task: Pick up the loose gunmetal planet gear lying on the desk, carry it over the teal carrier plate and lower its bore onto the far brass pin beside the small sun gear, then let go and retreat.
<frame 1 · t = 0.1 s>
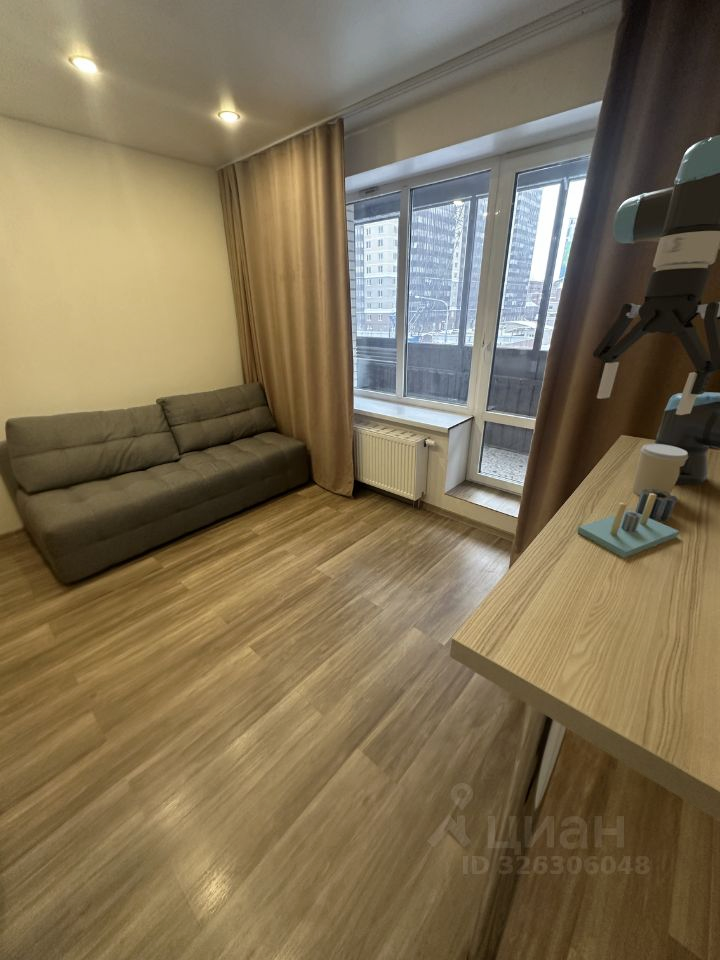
hand: (639, 405, 67), 28 cm above the table, fingers open, 13 cm apart
planet gear: (652, 514, 87), on the table
carrier: (626, 534, 79), on the table
coffee cup: (649, 493, 97), on the table
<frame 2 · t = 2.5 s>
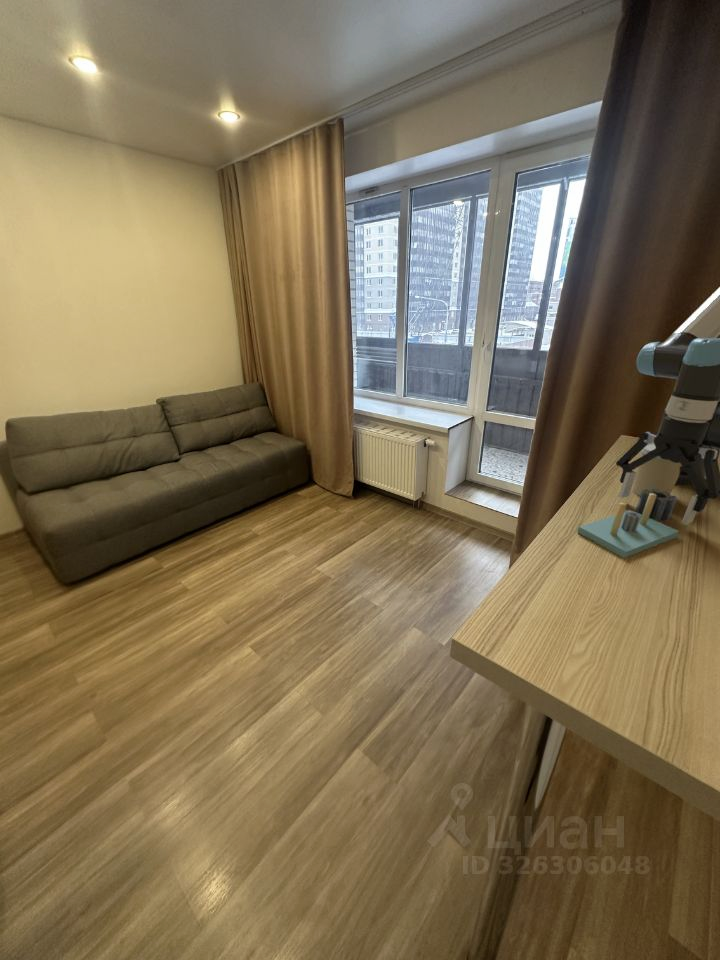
hand: (653, 508, 86), 2 cm above the table, fingers open, 13 cm apart
nothing on the table moved.
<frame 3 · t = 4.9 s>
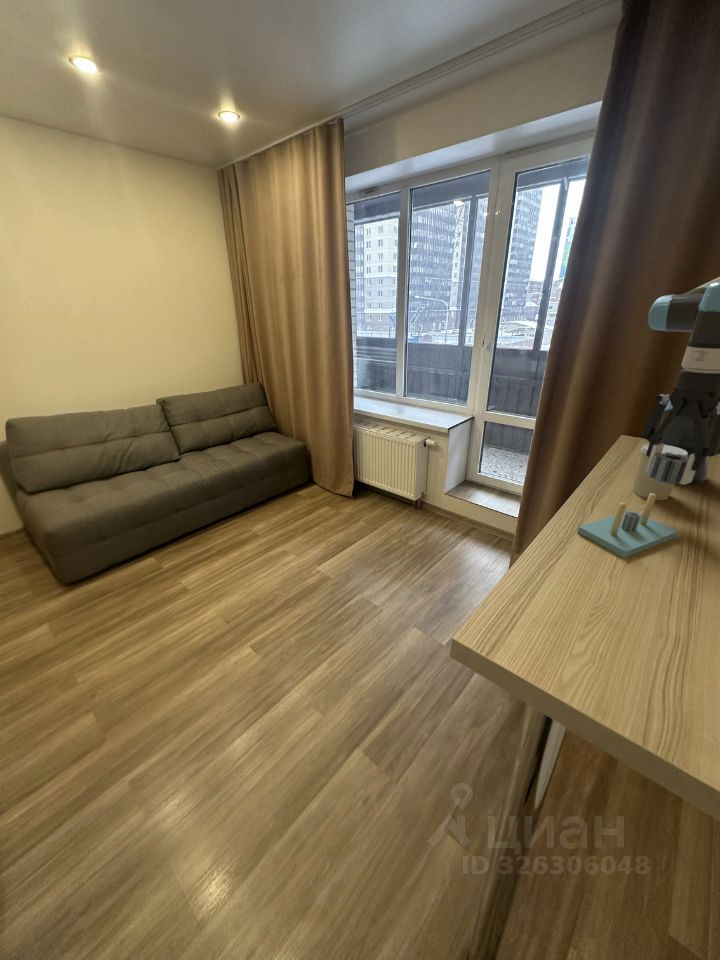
hand: (667, 476, 83), 9 cm above the table, fingers closed on planet gear, 6 cm apart
planet gear: (665, 478, 83), point 9 cm above the table, touching gripper
everything else where it was.
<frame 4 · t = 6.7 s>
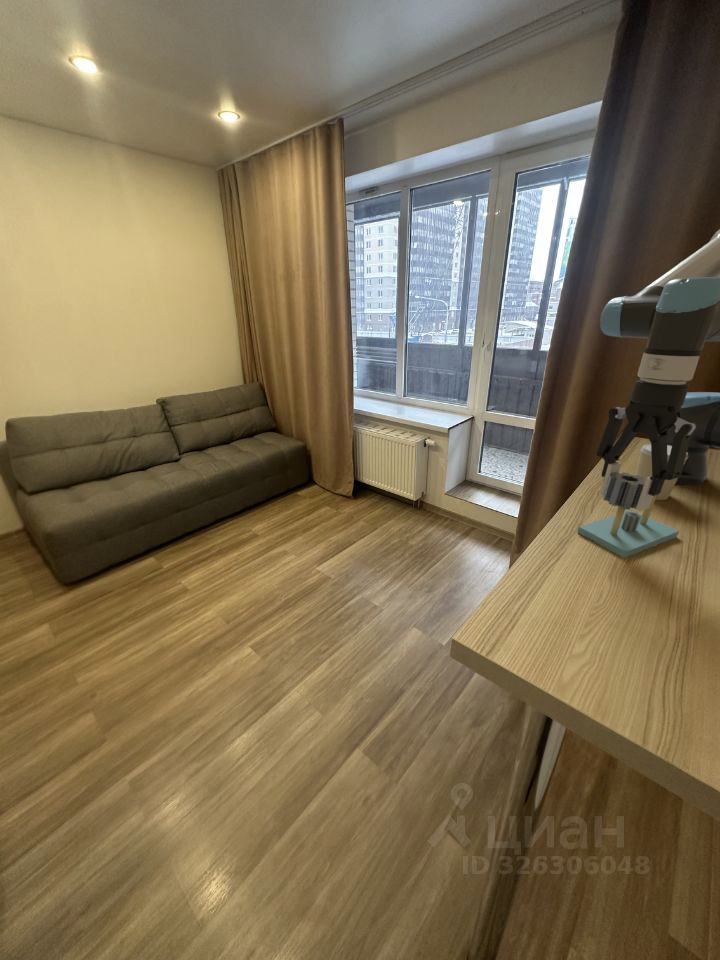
hand: (623, 500, 73), 9 cm above the table, fingers closed on planet gear, 6 cm apart
planet gear: (621, 501, 73), point 9 cm above the table, touching gripper
everything else where it was.
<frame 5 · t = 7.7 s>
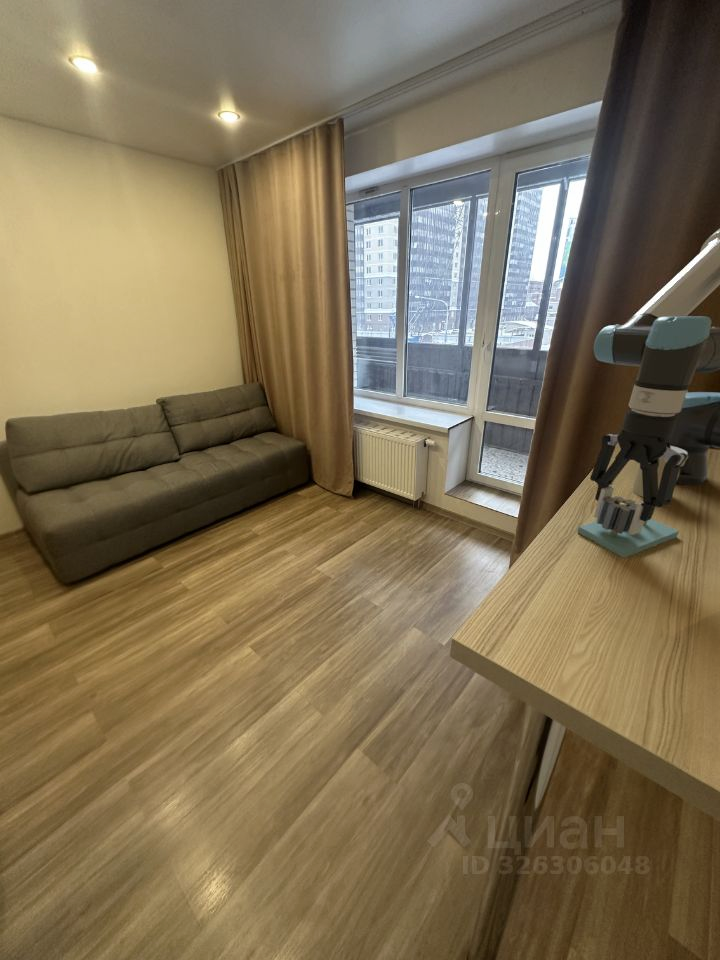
hand: (616, 523, 75), 4 cm above the table, fingers closed on planet gear, 6 cm apart
planet gear: (614, 525, 75), point 4 cm above the table, touching gripper
everything else where it was.
when the fingers open (3 cm above the table, at t = 8.6 s): planet gear drops 1 cm, resting on carrier.
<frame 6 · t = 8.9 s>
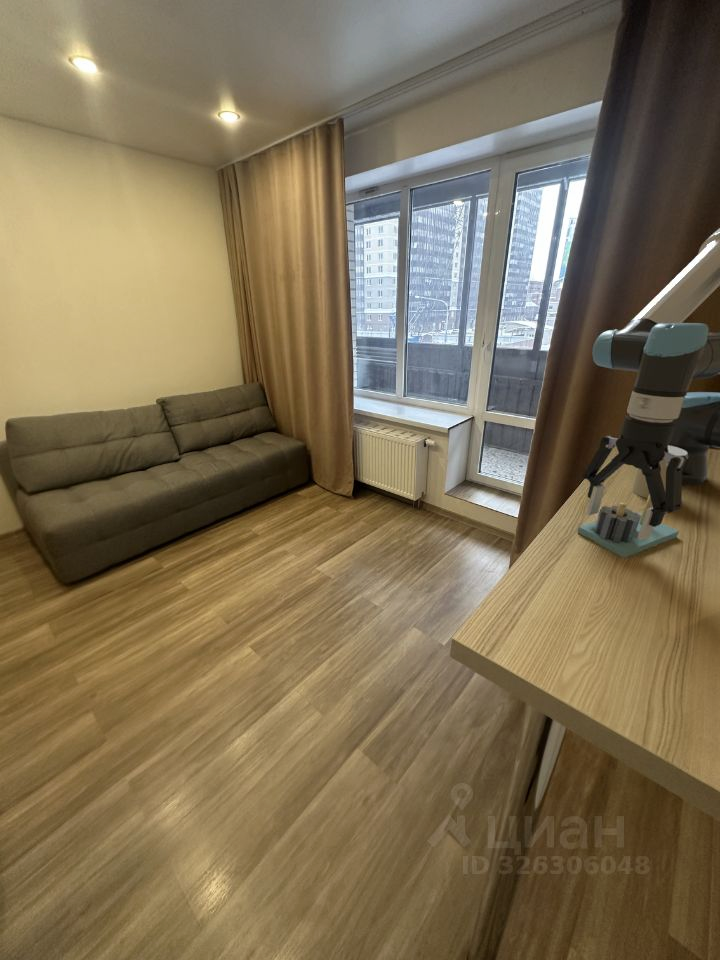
hand: (616, 525, 76), 4 cm above the table, fingers open, 10 cm apart
planet gear: (612, 534, 76), point 1 cm above the table, touching carrier
everything else where it was.
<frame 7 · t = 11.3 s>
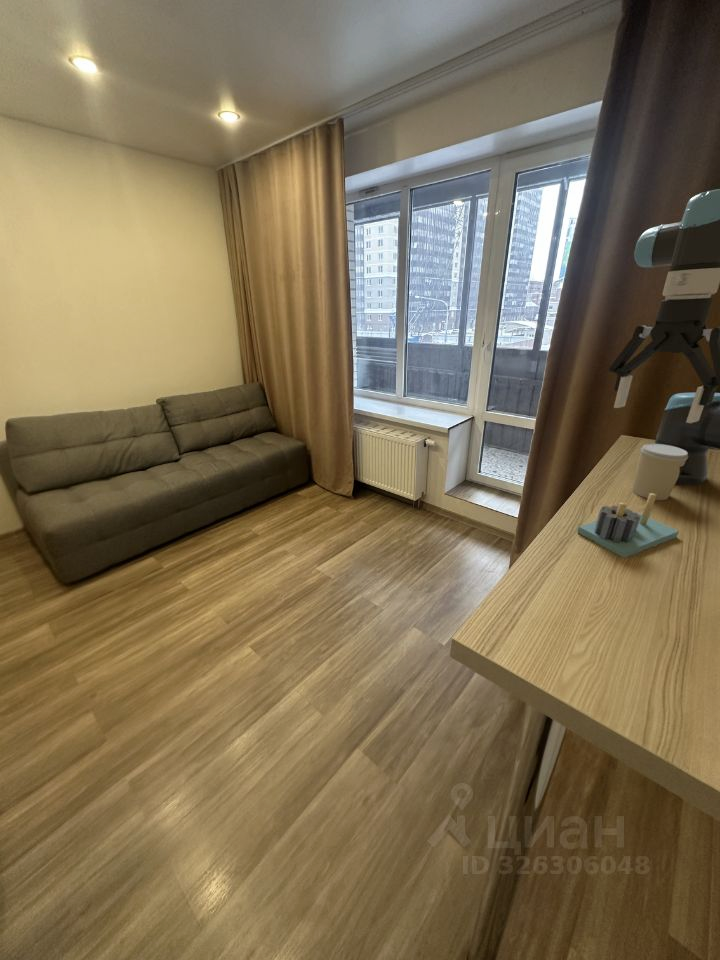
hand: (653, 413, 76), 24 cm above the table, fingers open, 13 cm apart
nothing on the table moved.
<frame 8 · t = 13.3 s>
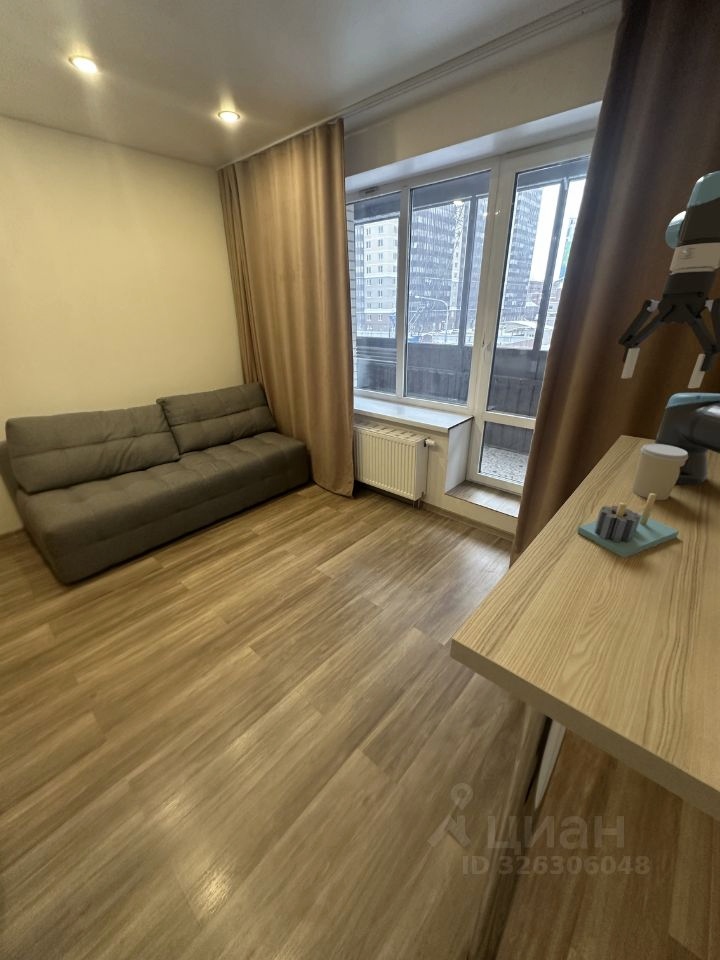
hand: (657, 382, 82), 29 cm above the table, fingers open, 13 cm apart
nothing on the table moved.
at the end: planet gear 0.3 cm from the target spot on the carrier, point 1.5 cm above the carrier's base; planet gear tilted 0°; the gripper is holding nothing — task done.
